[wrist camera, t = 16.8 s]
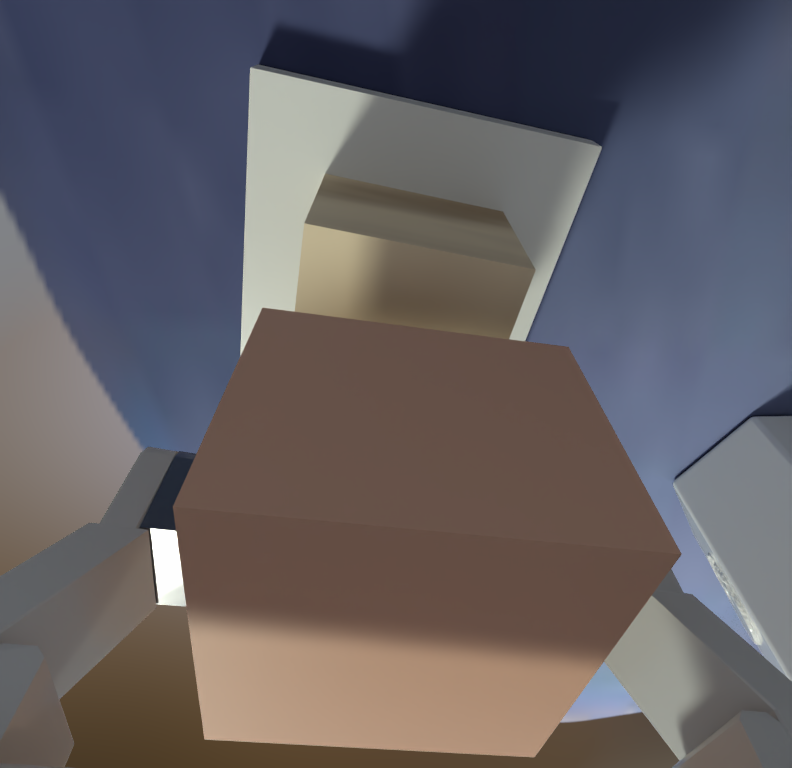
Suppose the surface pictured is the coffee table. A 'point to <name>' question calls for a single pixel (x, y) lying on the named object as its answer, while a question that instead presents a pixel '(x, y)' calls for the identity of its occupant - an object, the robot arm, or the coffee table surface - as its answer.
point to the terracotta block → (408, 540)
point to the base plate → (395, 174)
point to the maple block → (410, 260)
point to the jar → (749, 527)
